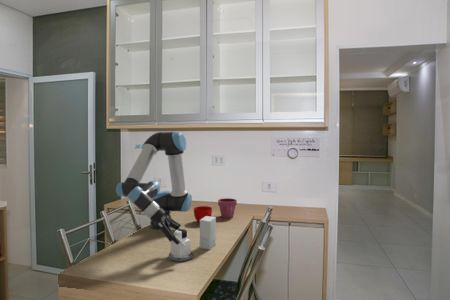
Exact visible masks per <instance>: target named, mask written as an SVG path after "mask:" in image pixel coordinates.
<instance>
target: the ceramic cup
mask: <svg viewBox="0 0 450 300" xmlns="http://www.w3.org/2000/svg"><path fill="white" fill-rule="evenodd" d="M212 213H213V207H211V206H207V205H206V206H205V205H202V206H201V205H200V206H195V207H194V208H193V216H194V218H195V220H196V221H197V222H198V224H200V220H201V219H202V218H204V217H205V216H210V217H212Z"/></svg>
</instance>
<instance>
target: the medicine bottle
mask: <svg viewBox="0 0 450 300" xmlns="http://www.w3.org/2000/svg"><path fill="white" fill-rule="evenodd" d="M187 234H188V231H187V230H186V229H184V228H182V229H178V230H175V231H174V235H175V237H176V236H177V237H178V238H179V239H180V240H181V241H182V242H183V243H184V244H185V245H186V246H185V247H184V248H183V249H182V250H181V249H180V248H179V247H178V246H177V245H176V244H175V243H174V242H173V241H171V242H170V253H171V255H174V256H176V257H179V258H182V257H184V256H187V255H189V254H191V252H192V243H191V242H192V240H191V239H189V238H188V237H187Z"/></svg>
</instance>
